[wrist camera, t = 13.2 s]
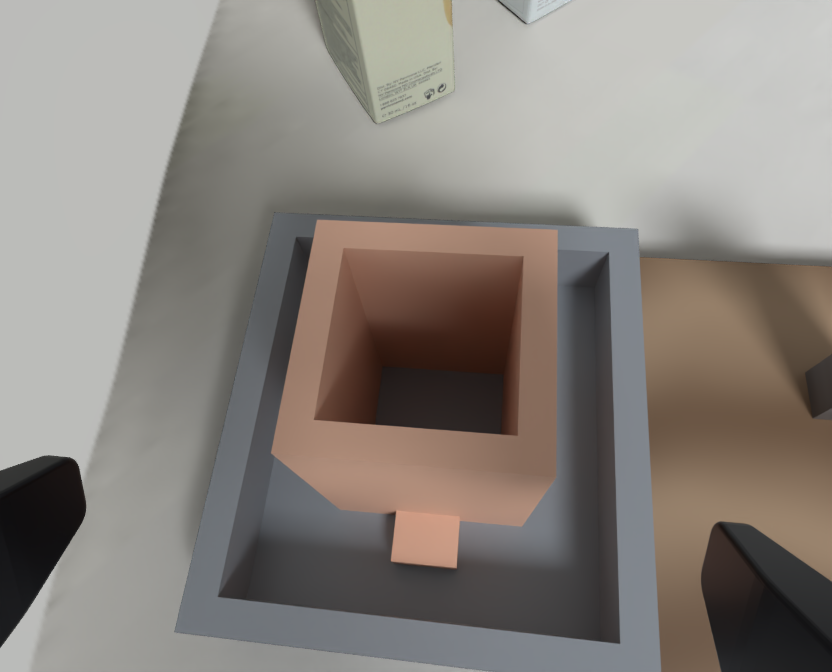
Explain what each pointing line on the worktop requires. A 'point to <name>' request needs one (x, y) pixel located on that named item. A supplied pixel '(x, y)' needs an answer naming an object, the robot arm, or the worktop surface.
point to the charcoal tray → (478, 542)
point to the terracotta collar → (424, 349)
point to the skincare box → (391, 51)
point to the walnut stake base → (734, 424)
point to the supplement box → (532, 8)
